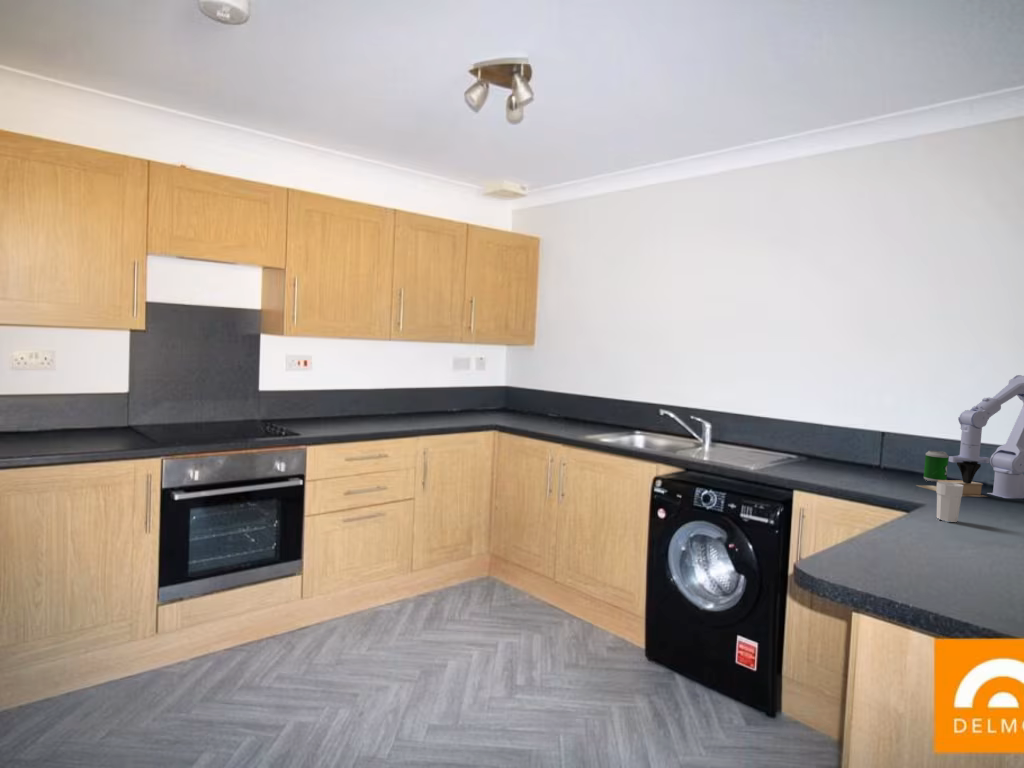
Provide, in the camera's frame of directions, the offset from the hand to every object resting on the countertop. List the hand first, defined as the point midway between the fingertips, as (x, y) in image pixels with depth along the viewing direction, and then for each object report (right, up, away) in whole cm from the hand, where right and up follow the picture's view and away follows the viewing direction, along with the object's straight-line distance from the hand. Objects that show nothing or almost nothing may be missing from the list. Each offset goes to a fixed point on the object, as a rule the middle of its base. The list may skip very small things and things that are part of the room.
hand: (967, 482), depth 230 cm
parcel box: (-1, -4, +3) cm, 5 cm away
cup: (-32, -6, -37) cm, 49 cm away
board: (-1, -5, +7) cm, 8 cm away
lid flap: (0, -1, +3) cm, 3 cm away
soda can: (+6, -4, +27) cm, 27 cm away
